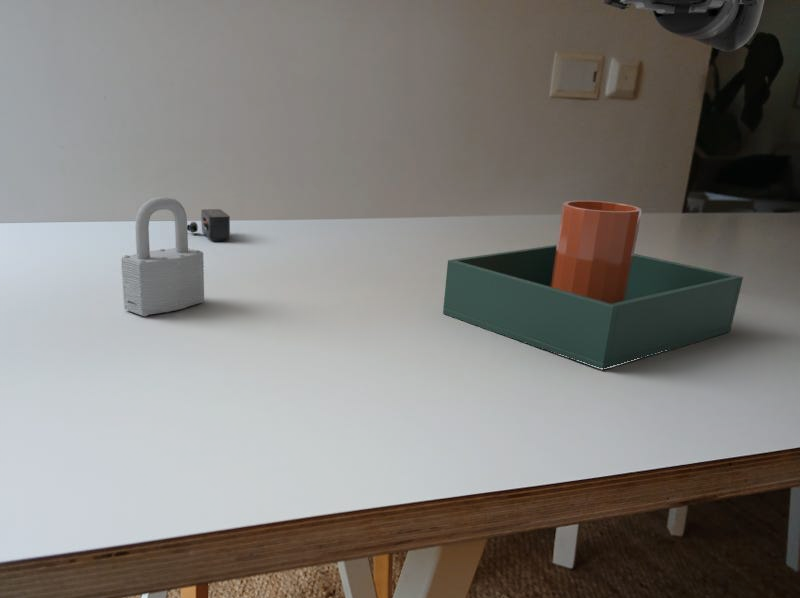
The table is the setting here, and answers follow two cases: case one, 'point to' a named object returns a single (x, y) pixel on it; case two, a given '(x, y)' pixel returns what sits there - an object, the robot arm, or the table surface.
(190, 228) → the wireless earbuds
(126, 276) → the padlock
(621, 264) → the tumbler
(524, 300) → the tub
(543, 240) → the table surface
